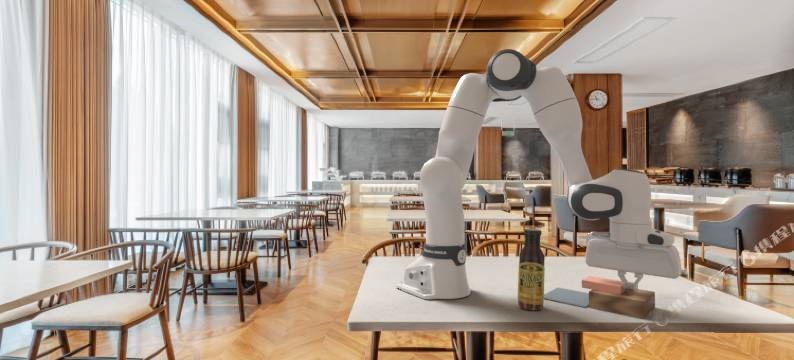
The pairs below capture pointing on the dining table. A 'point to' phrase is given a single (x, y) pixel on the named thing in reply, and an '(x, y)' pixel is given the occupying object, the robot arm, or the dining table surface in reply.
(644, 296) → the block
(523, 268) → the sauce bottle
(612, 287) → the pink rectangular block
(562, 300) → the mat
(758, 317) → the dining table surface
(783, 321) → the dining table surface
